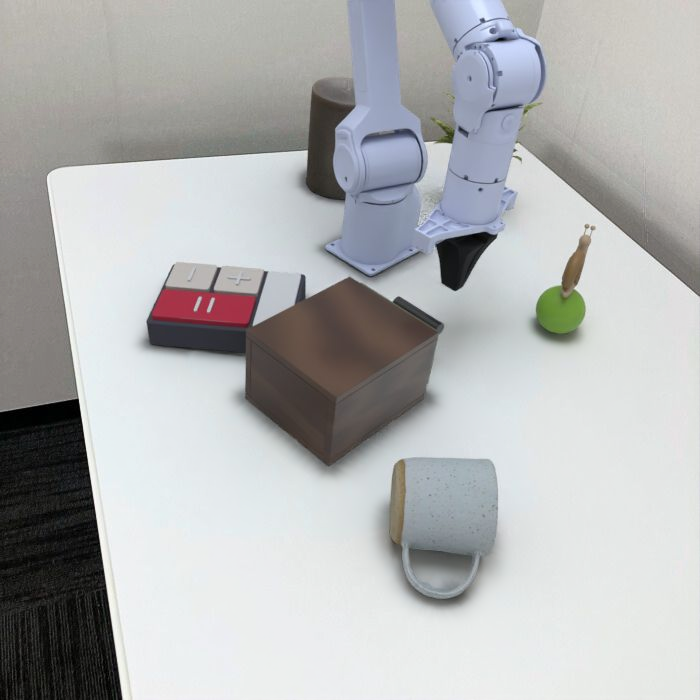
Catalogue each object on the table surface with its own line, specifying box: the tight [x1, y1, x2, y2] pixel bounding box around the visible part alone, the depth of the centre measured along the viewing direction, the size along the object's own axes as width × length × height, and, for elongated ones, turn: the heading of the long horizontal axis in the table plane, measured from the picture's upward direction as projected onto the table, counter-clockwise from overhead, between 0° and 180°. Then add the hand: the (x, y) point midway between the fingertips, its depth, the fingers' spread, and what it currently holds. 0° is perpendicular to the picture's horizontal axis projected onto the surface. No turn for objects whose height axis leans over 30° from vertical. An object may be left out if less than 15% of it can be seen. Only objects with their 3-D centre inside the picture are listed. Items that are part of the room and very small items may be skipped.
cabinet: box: [244, 276, 438, 467], centre depth 74 cm, size 14×12×9 cm
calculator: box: [146, 261, 307, 354], centre depth 83 cm, size 11×4×15 cm
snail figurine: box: [535, 223, 596, 335], centre depth 85 cm, size 5×6×12 cm
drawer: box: [360, 282, 445, 385], centre depth 76 cm, size 17×10×7 cm, turn 136°
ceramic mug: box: [389, 456, 499, 600], centre depth 62 cm, size 11×8×8 cm
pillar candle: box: [305, 76, 380, 200], centre depth 106 cm, size 10×10×15 cm
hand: (451, 284), depth 83 cm, fingers closed
